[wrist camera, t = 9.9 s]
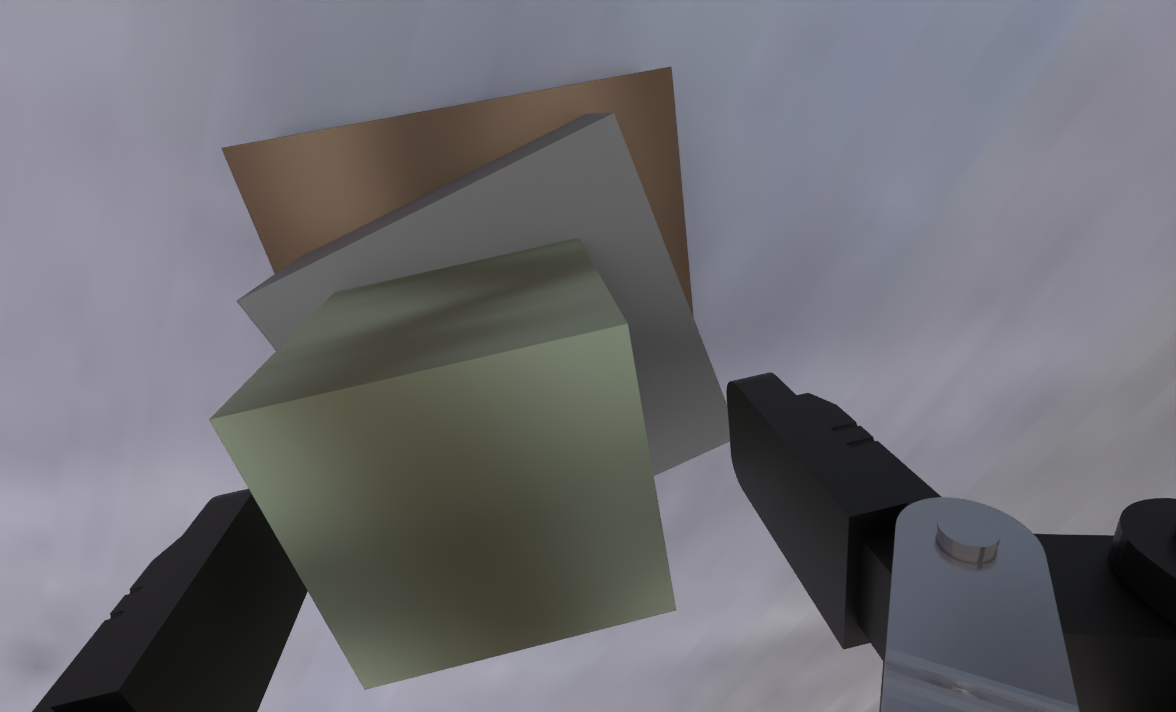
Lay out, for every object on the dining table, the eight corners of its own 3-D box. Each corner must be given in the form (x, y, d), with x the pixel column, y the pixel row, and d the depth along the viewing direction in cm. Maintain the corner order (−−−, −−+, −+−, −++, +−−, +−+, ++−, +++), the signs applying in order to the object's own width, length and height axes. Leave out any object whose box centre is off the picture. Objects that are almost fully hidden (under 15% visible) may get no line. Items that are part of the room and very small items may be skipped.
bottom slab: (638, 76, 18) (671, 66, 15) (672, 384, 23) (703, 434, 20) (279, 141, 18) (221, 148, 14) (395, 445, 23) (375, 507, 19)
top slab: (586, 113, 15) (614, 112, 11) (693, 374, 19) (739, 436, 15) (299, 256, 15) (236, 300, 12) (461, 483, 19) (451, 568, 15)
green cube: (578, 238, 12) (627, 324, 7) (617, 439, 14) (675, 610, 9) (334, 292, 12) (208, 419, 7) (415, 488, 14) (364, 689, 9)
